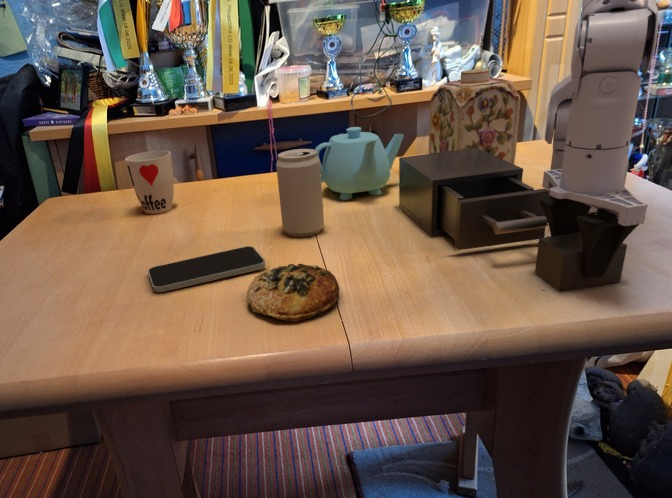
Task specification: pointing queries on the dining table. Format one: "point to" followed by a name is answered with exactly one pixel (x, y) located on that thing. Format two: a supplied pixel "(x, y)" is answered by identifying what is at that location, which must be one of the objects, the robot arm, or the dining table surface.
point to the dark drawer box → (491, 212)
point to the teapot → (357, 162)
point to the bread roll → (293, 292)
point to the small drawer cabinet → (444, 180)
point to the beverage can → (300, 192)
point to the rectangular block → (572, 263)
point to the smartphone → (205, 268)
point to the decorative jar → (475, 115)
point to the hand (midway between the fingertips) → (577, 266)
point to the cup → (152, 180)
